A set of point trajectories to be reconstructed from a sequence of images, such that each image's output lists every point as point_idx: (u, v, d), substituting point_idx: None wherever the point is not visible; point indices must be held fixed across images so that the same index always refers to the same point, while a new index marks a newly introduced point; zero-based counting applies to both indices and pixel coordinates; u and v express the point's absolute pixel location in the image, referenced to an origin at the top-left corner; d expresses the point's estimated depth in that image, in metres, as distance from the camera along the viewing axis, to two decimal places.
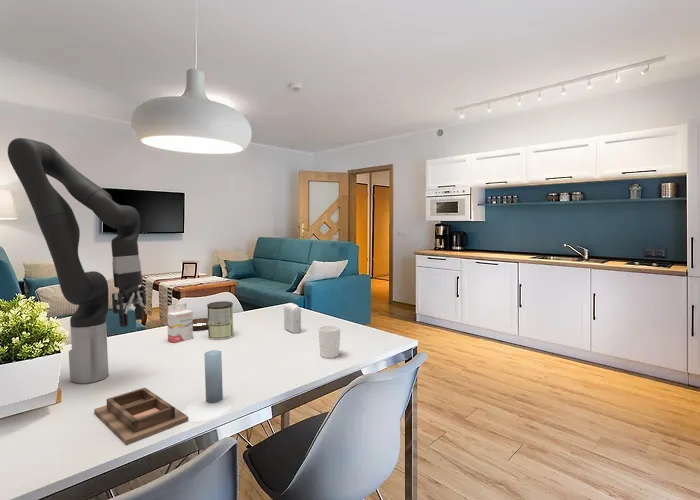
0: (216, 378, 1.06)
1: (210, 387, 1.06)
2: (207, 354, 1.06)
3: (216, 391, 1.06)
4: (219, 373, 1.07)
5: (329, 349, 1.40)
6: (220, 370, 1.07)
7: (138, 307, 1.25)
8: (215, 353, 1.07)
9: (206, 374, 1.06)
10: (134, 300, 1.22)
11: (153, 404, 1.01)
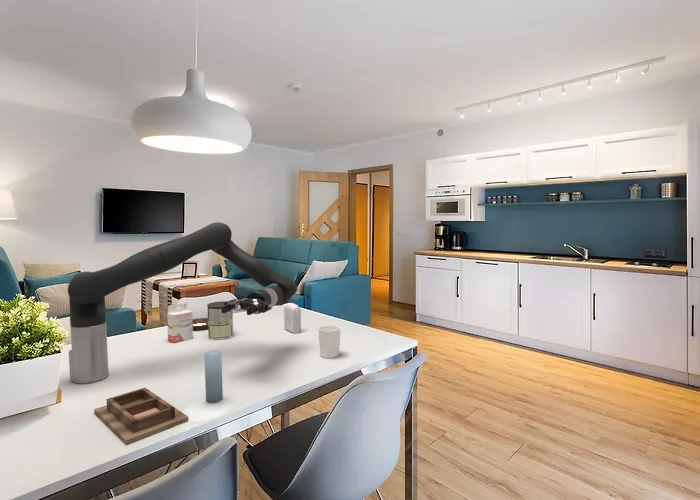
0: (216, 378, 1.06)
1: (210, 387, 1.06)
2: (207, 354, 1.06)
3: (216, 391, 1.06)
4: (219, 373, 1.07)
5: (329, 349, 1.40)
6: (220, 370, 1.07)
7: (230, 307, 1.22)
8: (215, 353, 1.07)
9: (206, 374, 1.06)
10: None
11: (153, 404, 1.01)
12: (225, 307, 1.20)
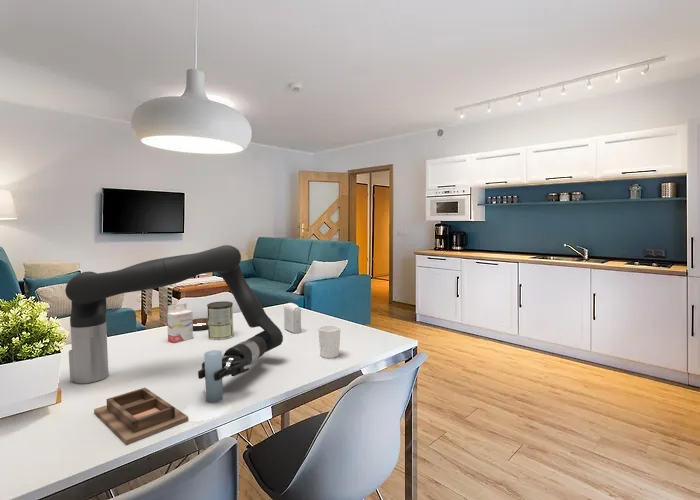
0: None
1: (210, 387, 1.06)
2: (207, 354, 1.06)
3: (216, 391, 1.06)
4: None
5: (329, 349, 1.40)
6: None
7: None
8: (215, 353, 1.07)
9: (206, 374, 1.06)
10: None
11: (153, 404, 1.01)
12: (202, 371, 1.07)
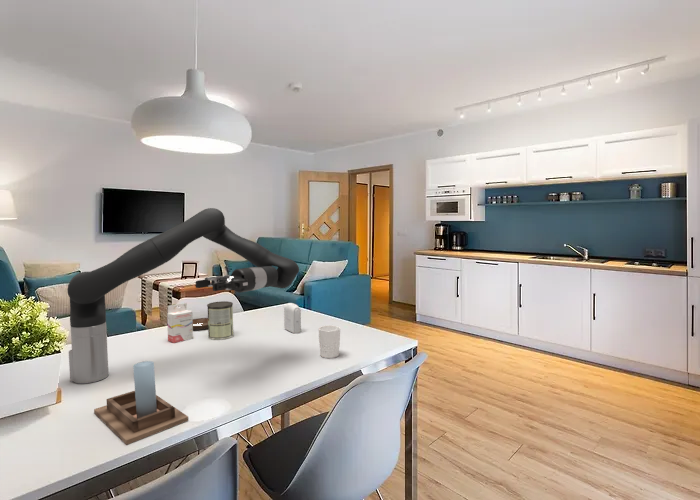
0: (143, 393, 0.94)
1: (138, 403, 0.94)
2: (135, 365, 0.94)
3: (144, 408, 0.94)
4: (148, 388, 0.94)
5: (329, 349, 1.40)
6: (150, 384, 0.94)
7: (208, 283, 1.20)
8: (145, 365, 0.94)
9: (135, 388, 0.94)
10: None
11: None
12: (199, 282, 1.18)
